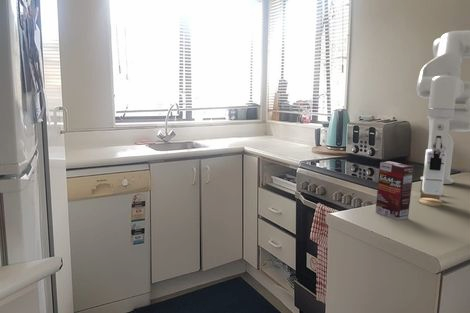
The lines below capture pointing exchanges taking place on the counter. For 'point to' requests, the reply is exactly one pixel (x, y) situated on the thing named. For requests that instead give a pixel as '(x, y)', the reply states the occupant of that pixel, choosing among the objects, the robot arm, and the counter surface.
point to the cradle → (428, 194)
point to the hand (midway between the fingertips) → (434, 167)
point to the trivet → (430, 202)
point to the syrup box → (433, 175)
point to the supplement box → (394, 190)
